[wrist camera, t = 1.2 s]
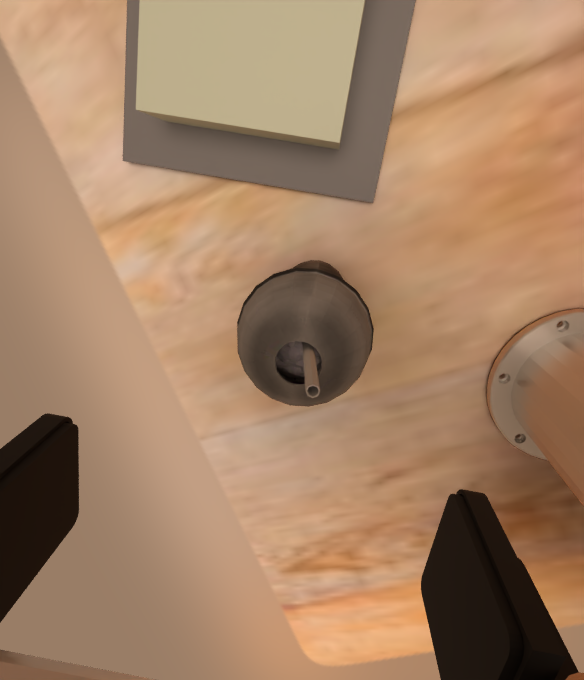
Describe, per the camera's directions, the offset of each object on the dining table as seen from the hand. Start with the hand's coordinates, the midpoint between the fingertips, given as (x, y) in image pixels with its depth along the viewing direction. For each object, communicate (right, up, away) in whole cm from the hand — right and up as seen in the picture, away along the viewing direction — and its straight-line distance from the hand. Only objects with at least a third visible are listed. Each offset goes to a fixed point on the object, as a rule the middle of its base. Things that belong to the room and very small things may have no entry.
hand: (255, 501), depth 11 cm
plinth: (-1, +24, +18) cm, 30 cm away
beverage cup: (+3, +8, +24) cm, 25 cm away
